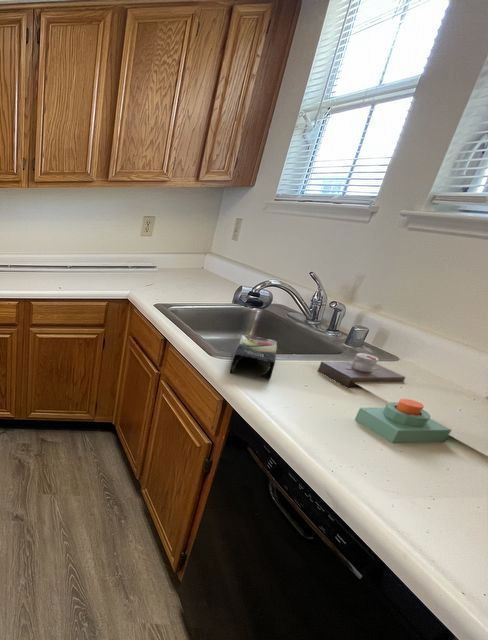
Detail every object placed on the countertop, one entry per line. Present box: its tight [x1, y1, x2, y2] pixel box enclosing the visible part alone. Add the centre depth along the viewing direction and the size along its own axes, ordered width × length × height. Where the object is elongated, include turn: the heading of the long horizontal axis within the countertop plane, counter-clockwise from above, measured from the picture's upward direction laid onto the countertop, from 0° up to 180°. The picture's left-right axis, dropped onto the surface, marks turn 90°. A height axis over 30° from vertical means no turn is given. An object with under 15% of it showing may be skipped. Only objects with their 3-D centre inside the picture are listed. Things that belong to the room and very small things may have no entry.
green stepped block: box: [354, 401, 452, 444], centre depth 86 cm, size 11×9×5 cm
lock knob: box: [351, 352, 379, 372], centre depth 107 cm, size 4×4×4 cm
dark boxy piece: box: [229, 334, 278, 380], centre depth 116 cm, size 20×10×6 cm, turn 147°
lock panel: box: [317, 360, 406, 389], centre depth 109 cm, size 14×10×3 cm
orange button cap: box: [396, 398, 425, 415], centre depth 85 cm, size 4×4×2 cm
